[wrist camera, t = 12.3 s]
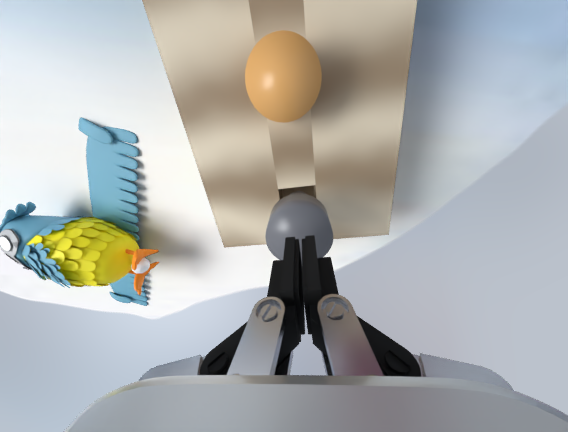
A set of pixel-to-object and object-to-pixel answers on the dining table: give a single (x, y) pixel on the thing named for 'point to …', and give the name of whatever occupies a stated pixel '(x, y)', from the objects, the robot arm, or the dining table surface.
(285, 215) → the knob
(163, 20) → the console
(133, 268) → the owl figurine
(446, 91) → the dining table surface
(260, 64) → the knob mid
